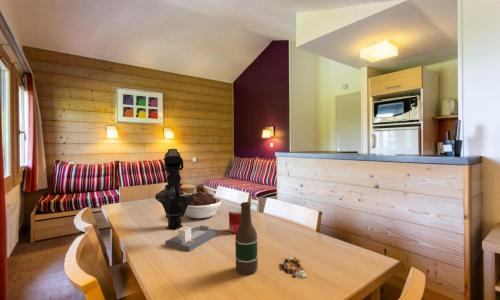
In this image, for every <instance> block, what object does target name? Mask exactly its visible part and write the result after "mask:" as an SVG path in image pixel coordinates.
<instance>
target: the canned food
mask: <svg viewBox="0 0 500 300" xmlns="http://www.w3.org/2000/svg"><path fill="white" fill-rule="evenodd" d="M240 223H241V208H230V209H229V210H228V226H229V227H228V229H229V230H228V231H229V233H230V234H234V235H236V232H237V230H238V228H239V227H240Z"/></svg>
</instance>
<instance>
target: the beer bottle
mask: <svg viewBox="0 0 500 300" xmlns="http://www.w3.org/2000/svg"><path fill="white" fill-rule="evenodd" d="M251 206H252V204H251V202H249V201H245V202H244V201H243V202H240V209H241V223H240V227H239V228H238V230H237V232H236V234H235V240H234V241H235V242H234V243H235V271H237V272H238V273H239V275H244V276H250V275H253V274H255V273H256V271H257V270H258V263H259V262H258V261H259V260H258V233H257V231H256V228H255V226H254V225H253V222H252V213H251V211H252V209H251Z"/></svg>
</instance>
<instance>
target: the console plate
mask: <svg viewBox="0 0 500 300" xmlns="http://www.w3.org/2000/svg"><path fill="white" fill-rule="evenodd" d="M217 236H220V230H219V229H214V228H210V226H209V225H203V224H200V225H198V226H195V227H192V228H191V239H190V240H188V241H186V242H184V239H182V238H178V235H176V236H174V237H171V238H169V239H166V240H164V246H165V247H170V248H173V249H177V250H182V251H187V252H191V251H194V250H195V249H197V248H198V247H199V246H201V245H204V244H205V243H207V242H208V241H210V240H212V239H214V238H216V237H217Z"/></svg>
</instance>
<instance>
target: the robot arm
mask: <svg viewBox="0 0 500 300" xmlns="http://www.w3.org/2000/svg"><path fill="white" fill-rule="evenodd" d="M183 169H184V159H183V157H181V153H180V152H179V151H178V149H177V148H168V149H167V152H166V153H164V171H165V172H166V171H167V172H166V181H167V182H166V184H165V185H164V189H162V190H161V191H159V192H157V193H156V194H155V195H154V197H155V200H156V201H157V202H158V203H160V204H161V205H162V207H163V209H164V213H165V218H166V219H167V226H166V227H165V228H166V229H168V230H174V231H175V230H178V229H180V228H181V227H184V226H183V224H182V217H184V215H185V214H186V212H185V211H186V209H187V207H188V205H189V203H190V202H191V201H194V200H193V195H191V194H189V193H185V194H183V192H182V191H181V187H182V186H183V183H181V180H182V177H181V172H180V171H182V170H183Z"/></svg>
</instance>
